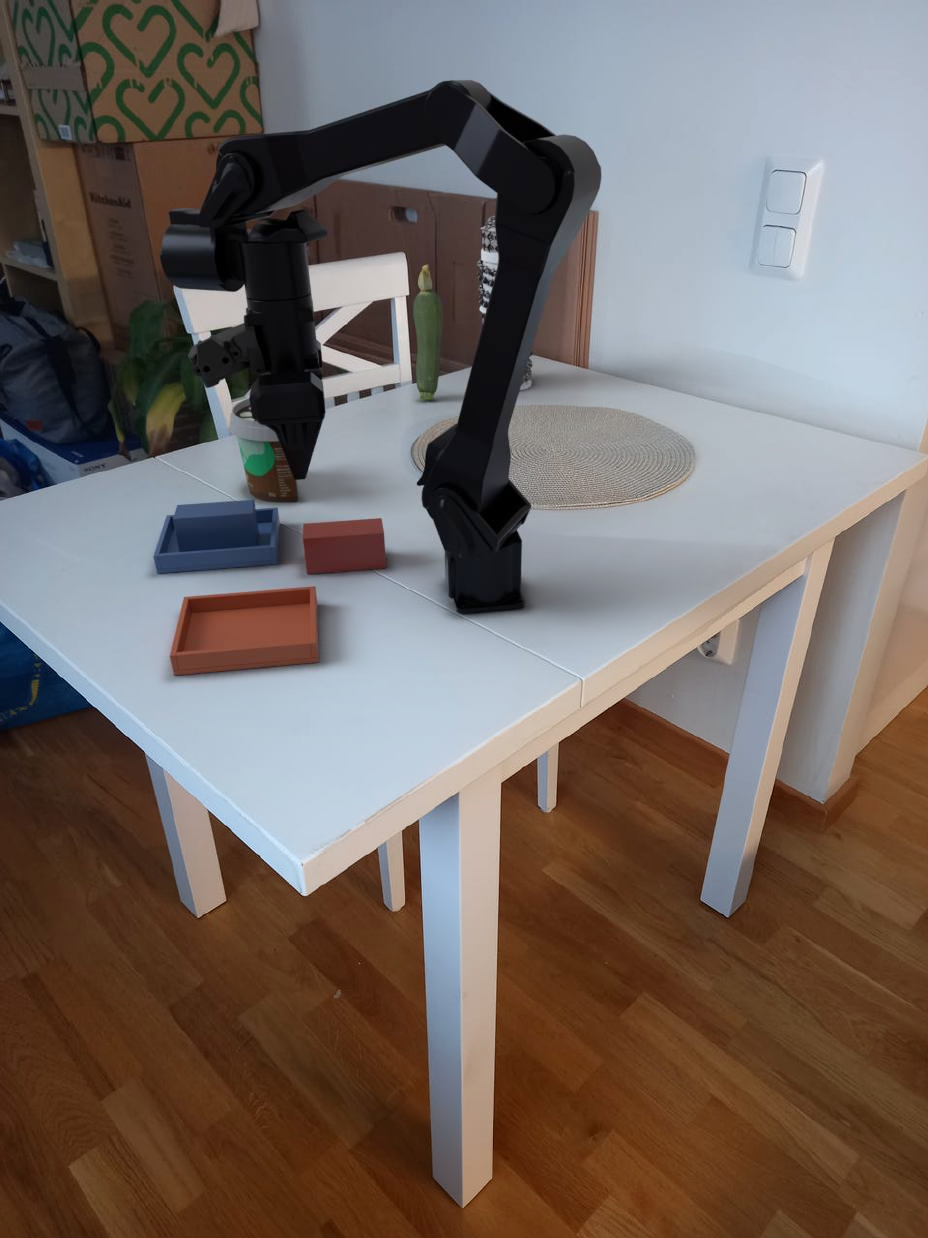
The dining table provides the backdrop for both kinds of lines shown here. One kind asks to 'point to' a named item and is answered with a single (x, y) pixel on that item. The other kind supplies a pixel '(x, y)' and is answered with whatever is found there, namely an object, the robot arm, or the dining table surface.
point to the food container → (262, 457)
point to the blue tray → (262, 554)
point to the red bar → (344, 546)
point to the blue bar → (216, 525)
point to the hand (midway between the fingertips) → (300, 461)
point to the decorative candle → (487, 276)
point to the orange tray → (246, 631)
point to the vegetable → (427, 335)
